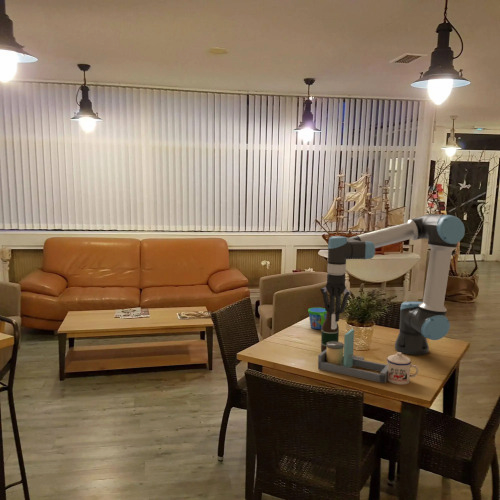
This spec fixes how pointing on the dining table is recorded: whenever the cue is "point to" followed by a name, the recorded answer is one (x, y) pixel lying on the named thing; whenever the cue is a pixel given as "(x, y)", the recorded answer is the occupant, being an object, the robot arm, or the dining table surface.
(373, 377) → the tray
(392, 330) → the dining table surface
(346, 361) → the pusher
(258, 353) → the dining table surface
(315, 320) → the snack cup
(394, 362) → the teacup with lid
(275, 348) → the dining table surface
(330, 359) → the jar
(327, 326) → the beer bottle
